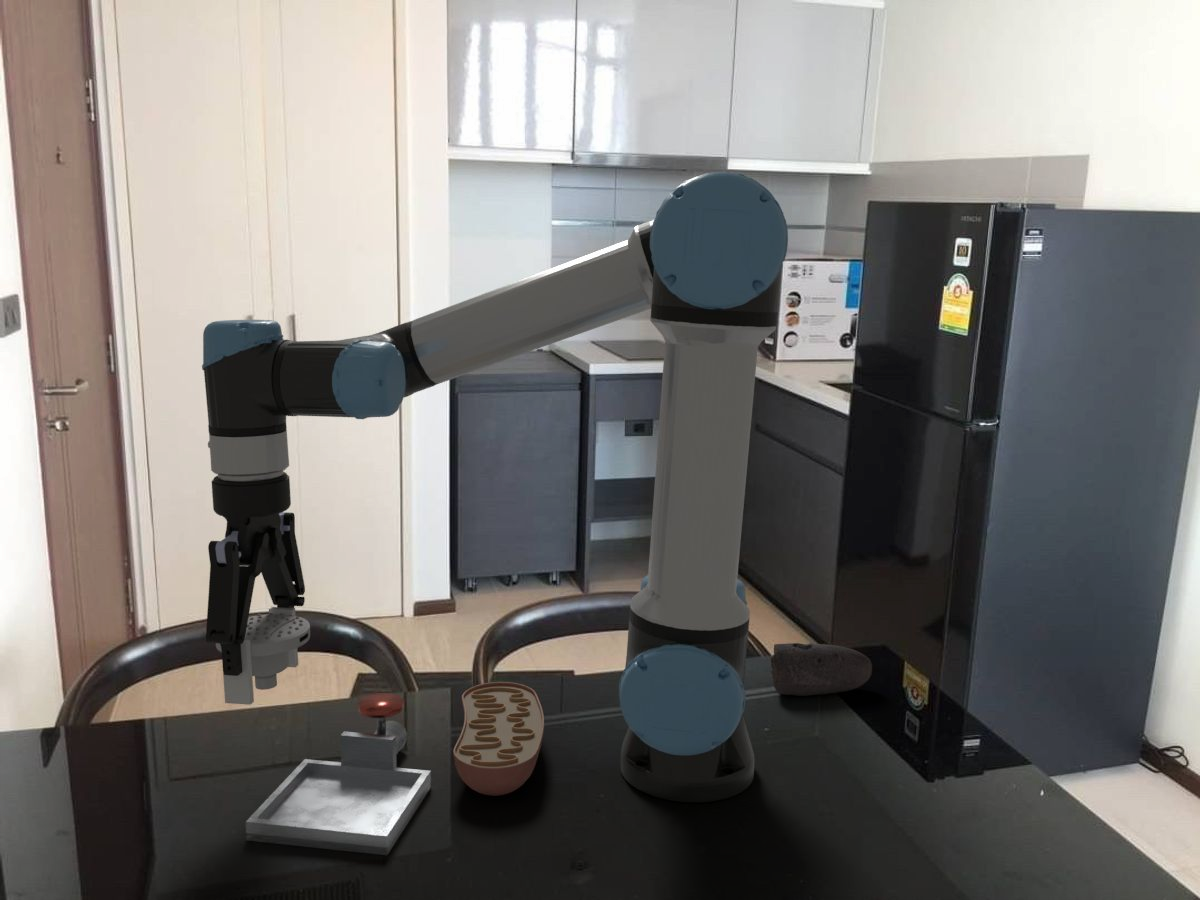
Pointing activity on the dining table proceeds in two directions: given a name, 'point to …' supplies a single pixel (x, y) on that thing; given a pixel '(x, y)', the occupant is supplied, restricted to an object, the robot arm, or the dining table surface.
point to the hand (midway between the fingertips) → (263, 683)
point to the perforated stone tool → (818, 669)
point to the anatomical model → (499, 737)
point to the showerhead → (273, 644)
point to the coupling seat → (347, 792)
